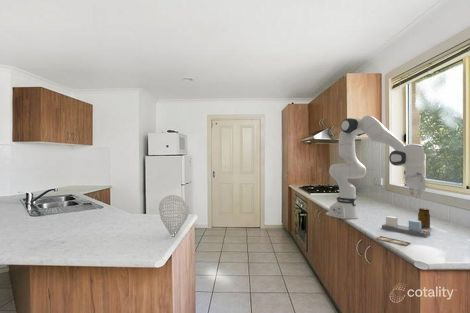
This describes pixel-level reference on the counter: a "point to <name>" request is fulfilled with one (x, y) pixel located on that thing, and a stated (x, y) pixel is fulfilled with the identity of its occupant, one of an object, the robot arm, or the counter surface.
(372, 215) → the counter surface
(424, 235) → the power strip
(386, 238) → the oak pad
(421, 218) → the condiment
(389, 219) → the plug
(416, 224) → the light blue block
